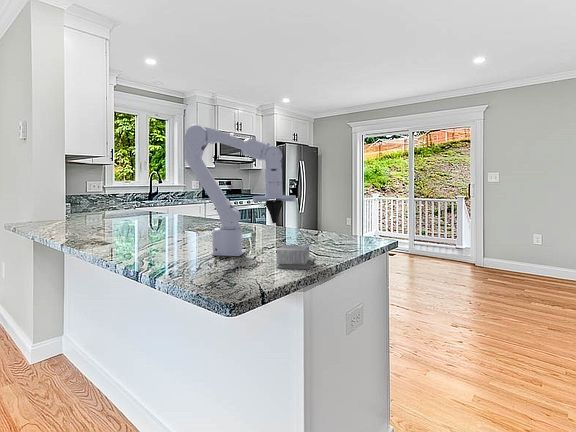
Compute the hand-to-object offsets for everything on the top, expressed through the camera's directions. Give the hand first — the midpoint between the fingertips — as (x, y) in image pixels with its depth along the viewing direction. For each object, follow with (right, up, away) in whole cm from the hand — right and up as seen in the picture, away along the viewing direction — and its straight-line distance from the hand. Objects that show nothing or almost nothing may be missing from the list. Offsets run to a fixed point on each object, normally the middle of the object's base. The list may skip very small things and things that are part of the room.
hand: (274, 222), depth 125 cm
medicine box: (+2, -9, -14) cm, 17 cm away
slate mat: (+7, -12, -15) cm, 20 cm away
